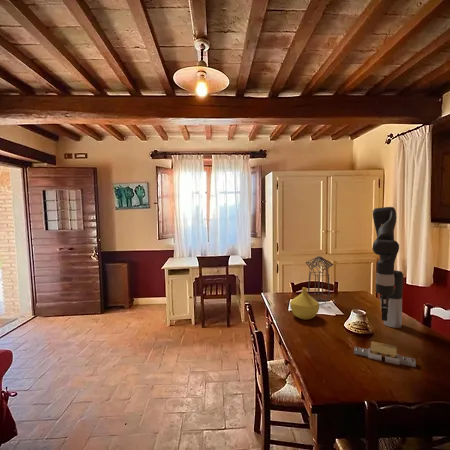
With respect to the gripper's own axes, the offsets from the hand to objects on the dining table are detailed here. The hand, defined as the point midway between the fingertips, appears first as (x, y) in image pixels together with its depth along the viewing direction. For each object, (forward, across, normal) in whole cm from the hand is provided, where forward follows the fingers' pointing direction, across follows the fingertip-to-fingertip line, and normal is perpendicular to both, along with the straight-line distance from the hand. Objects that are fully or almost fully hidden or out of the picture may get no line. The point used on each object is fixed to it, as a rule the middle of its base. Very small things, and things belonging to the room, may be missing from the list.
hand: (384, 317), depth 132 cm
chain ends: (+20, 0, 0) cm, 20 cm away
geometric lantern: (+20, -68, -42) cm, 82 cm away
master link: (+20, 0, 0) cm, 20 cm away
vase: (+20, -35, -45) cm, 60 cm away
